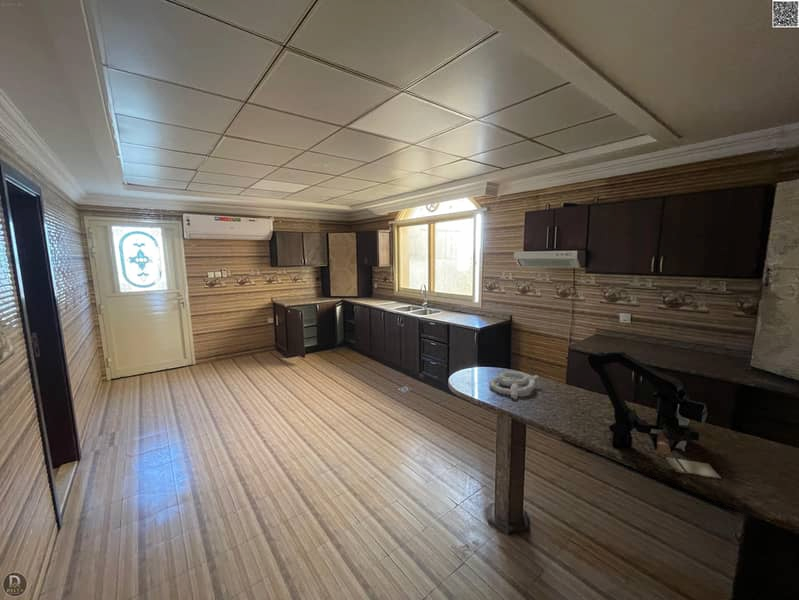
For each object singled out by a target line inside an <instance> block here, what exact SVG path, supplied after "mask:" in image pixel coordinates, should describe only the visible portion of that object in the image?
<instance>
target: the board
mask: <svg viewBox="0 0 799 600" xmlns="http://www.w3.org/2000/svg"><path fill="white" fill-rule="evenodd" d="M665 459H666V461H667V462H668V463H669V464H670V466H671V467H672V469H673V470H674V471H675V472H677V473H682V474H687V475H692V474H693V475H692V476H698V475H699V476H700V477H704V478H710V477H711V478H710V479H717V480H722V477H721V476H720V475H719V474H718V473H717V472H716V470H715V469H713V467H712V466H711V465H710V464H709V463H706V462H699V461H693V460H688V459H687V460H686V459H681V458H680V459H679V458H676V457H667V456H666V457H665Z"/></svg>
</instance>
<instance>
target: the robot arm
mask: <svg viewBox="0 0 799 600" xmlns="http://www.w3.org/2000/svg"><path fill="white" fill-rule="evenodd" d="M587 362H588V365H589V366H590V368H591V369H592V371H594V372H595V373H596V374H597V375H598V376H599V379H600V380H601V383H602V386H603V388H604V390H605V392H606V393H607V396H608V398H609V400H610V402H611V405H612V407H613V410H614V411H613V412H614V415H613V416H614V421H615V422H613V423H612V424H610V425H609V426H608V428H609V431H610V437H608V440H609V442H610V444H611V446H612V447H613V448H617V449H623V450H629V451H632V446H633V444H632V443H633V435H632V431H634V429H635V430H636V432H637V433H640V434H647V435H648V436H649V438H650V442H651V443H652V447H653V450H655V451H657V450H656V449H657V443H658V438H659V434H657V432H662V433H663V435H664V438H665V439H666V440H667V441H668V440H669V446H670V449H671V451H670V453H672V452H673V451H674V449H676V448H675V447H676V446H677V444H678V443H679V442H681V441H687V442H688V439H689V440H690V441H697V442H700V440H701V435H700V433H699V432H698V431H697V430H696V429H695V428H694V427H693V426H691V425H689V426H685V425H680V426H679V423H678V422H679V420H678V418H677V412H679V415H681V416H682V417H684V418H687V419H690V421H693V422H697V423H700V424H704V423H705V422H706V420H707V417H708V411H707V410H708V409H707V404H706V403H704V402H700V401H695V400H693V399H690V396H689V395H688V393H687V392H686V391H685V389H684V388H683V387H684V386H683V383H682V381H681V380H680V379H679V378H677V377H674V376H672V375H669V374H666V373H663V372H659V371H657V370H655V369H653V368H651V367H650V366H648V365H647V364H644V363H642V361H641V362H640V360H637V359H636V358H634V357H632V356H630V355H629V354H627V353H626V352H625V351H622V350H618V351H615V352H614V351H612V352H604V351H598V352H595V353H592V354H590V355H589V356H588V357H587ZM614 363H618V364H620V365H621V366H622V367H624V368H626V369H628V370H630V371H631V372H632V373H634V374H636V375H638V376H639V377H641V378H643V379H644V380H646V381H647V382H649V383H650V384H651V386H652V387H653V389H655V390H656V392H654V393H652V394H651V397H654V398H656V399H658V401H657V402H658V403H657V409H655V413H656V419H654V423H655V424H650V423H649V422H648V421H647V420H646V419H641V418H640V417H639V416H638V413H637V411H636V409H631V408H630V407H629V406H628V405H627V403H626V401H625V398H624V396H623V394H622V393H621V390H620V388H619V386H618V384H617V382H616V380H615V377H614V375H613V373H612V364H614ZM678 404H679V408H678Z"/></svg>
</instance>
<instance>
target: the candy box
mask: <svg viewBox="0 0 799 600" xmlns="http://www.w3.org/2000/svg"><path fill="white" fill-rule="evenodd" d="M678 408H679V404H678ZM677 418H678V420H679V422H678V423H679V426H680V425H685V426H690V422H691V420H690V419H687V418H684V417H682V416H681V415H679V412H677ZM687 442H688V440H687V441H681V442H679V443H678V444H677V446H676V447H675V448H674V449H677V450H679V451H683V452H685V451H686V450H687V449H686V448H687ZM667 444H668V445H669V440H668V439H667Z"/></svg>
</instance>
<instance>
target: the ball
mask: <svg viewBox="0 0 799 600" xmlns="http://www.w3.org/2000/svg"><path fill="white" fill-rule="evenodd" d="M655 451H657V452H658V453H659V454H661V455H666V456H667V455H669V454H670V453H671V452H670V451H671V449H670V446H669V445H668V442H667V443H666V442H664V441H657V449H656V450H655Z"/></svg>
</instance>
